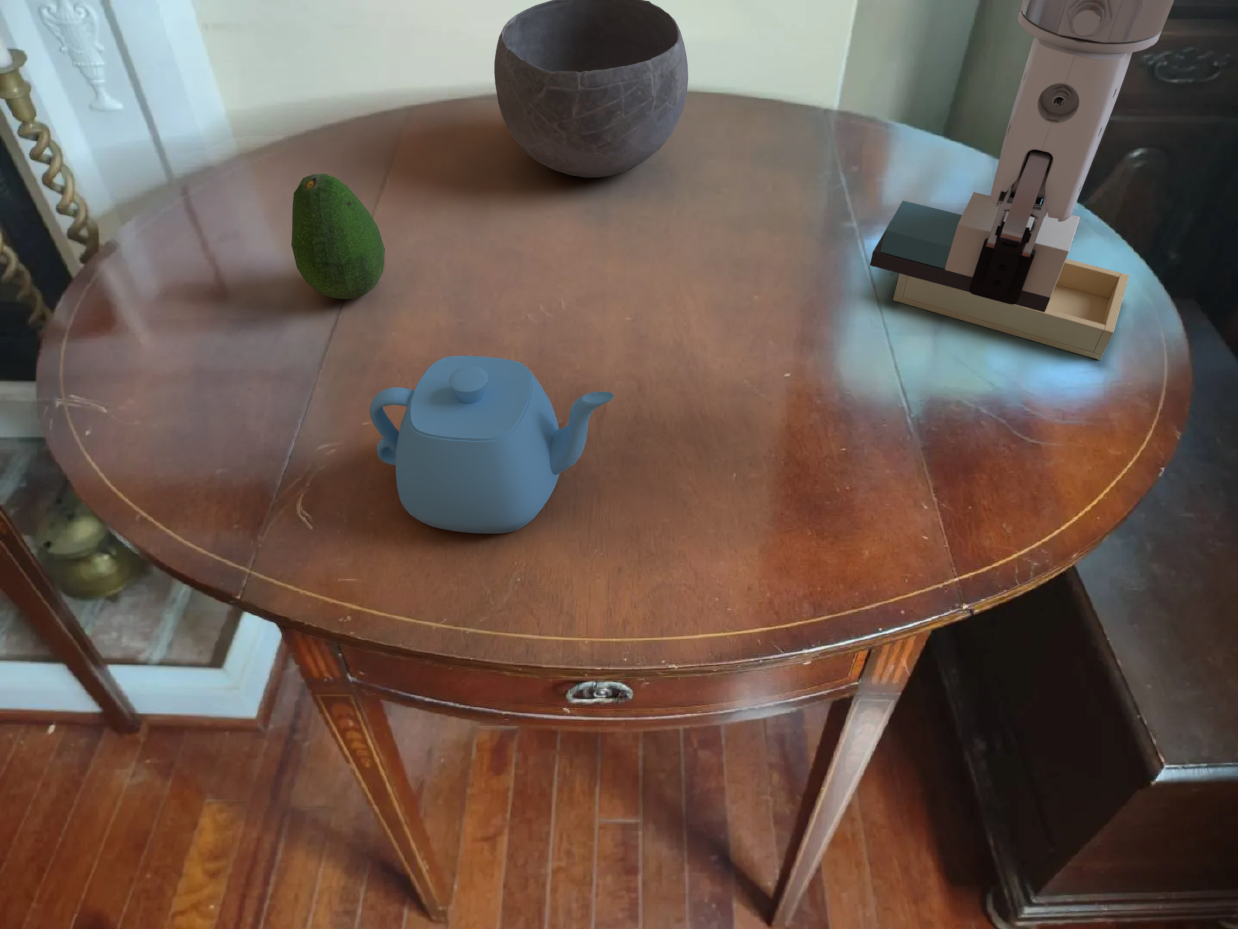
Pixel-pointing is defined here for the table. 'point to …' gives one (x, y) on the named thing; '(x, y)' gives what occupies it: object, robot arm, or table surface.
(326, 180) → the fruit
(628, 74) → the bowl
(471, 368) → the teapot
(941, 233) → the two-tone stepped block
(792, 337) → the table surface
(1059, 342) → the wooden tray
